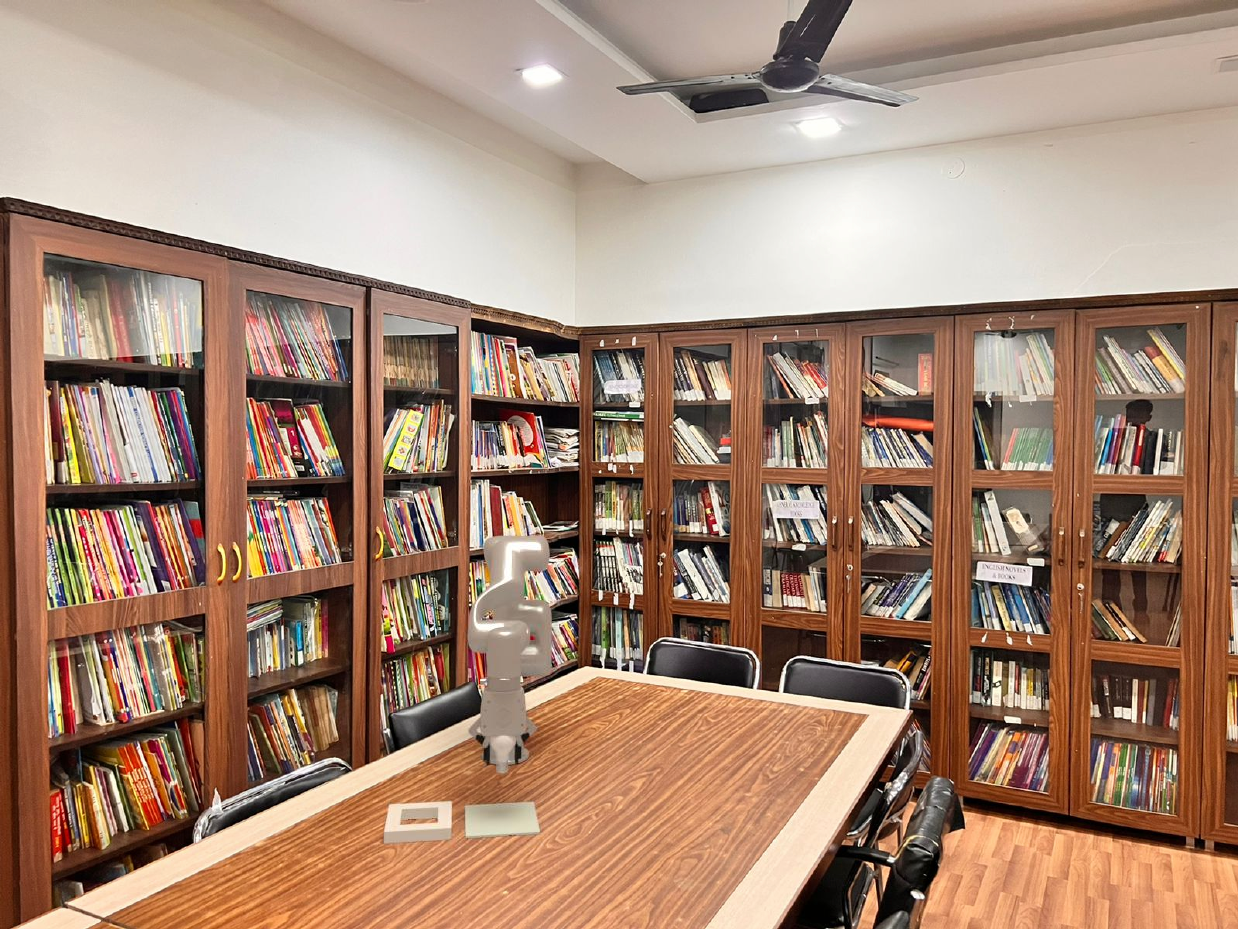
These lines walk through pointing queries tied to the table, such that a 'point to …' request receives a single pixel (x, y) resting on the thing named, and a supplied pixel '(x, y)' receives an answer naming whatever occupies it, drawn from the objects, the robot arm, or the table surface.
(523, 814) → the sage mat
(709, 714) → the table surface
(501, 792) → the table surface
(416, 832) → the pocket holder
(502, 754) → the lightbulb
